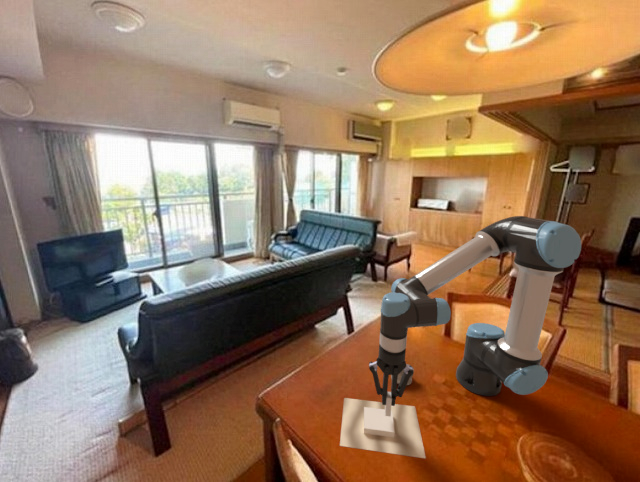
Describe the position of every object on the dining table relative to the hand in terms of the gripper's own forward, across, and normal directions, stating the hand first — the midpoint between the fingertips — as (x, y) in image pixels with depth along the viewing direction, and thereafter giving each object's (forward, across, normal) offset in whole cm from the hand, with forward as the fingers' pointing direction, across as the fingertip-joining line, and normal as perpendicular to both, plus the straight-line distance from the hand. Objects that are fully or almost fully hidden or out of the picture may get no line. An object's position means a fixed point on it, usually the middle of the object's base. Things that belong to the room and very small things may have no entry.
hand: (387, 412), depth 87 cm
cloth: (+6, +2, 0) cm, 6 cm away
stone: (+6, -5, -23) cm, 24 cm away
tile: (+4, -2, 0) cm, 4 cm away
